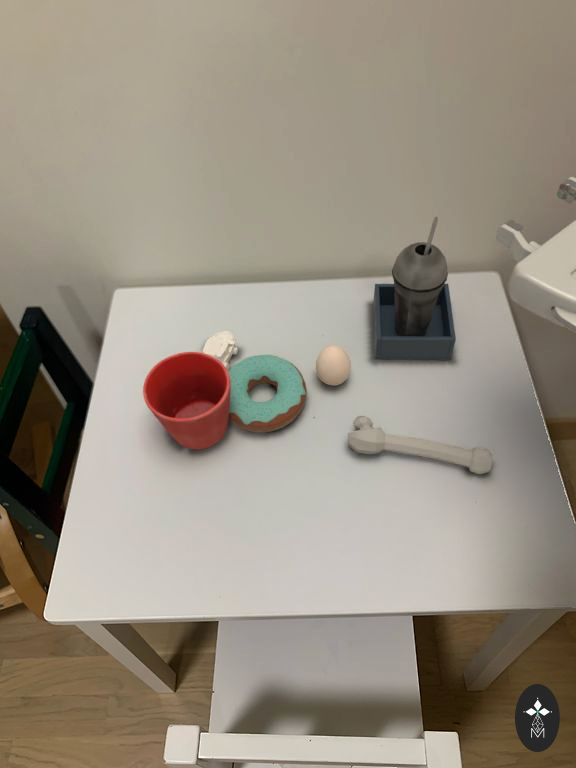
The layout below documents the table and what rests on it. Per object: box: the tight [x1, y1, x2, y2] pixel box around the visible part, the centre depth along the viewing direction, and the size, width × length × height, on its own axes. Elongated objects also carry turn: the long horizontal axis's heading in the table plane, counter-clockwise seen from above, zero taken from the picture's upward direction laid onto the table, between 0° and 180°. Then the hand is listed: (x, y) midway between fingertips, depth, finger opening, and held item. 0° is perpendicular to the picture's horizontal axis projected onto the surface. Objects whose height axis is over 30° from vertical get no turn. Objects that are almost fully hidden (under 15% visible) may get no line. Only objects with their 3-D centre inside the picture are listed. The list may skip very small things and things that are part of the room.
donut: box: [220, 354, 308, 433], centre depth 81 cm, size 12×12×4 cm
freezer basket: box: [372, 283, 457, 361], centre depth 86 cm, size 11×11×5 cm
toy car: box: [201, 330, 239, 371], centre depth 86 cm, size 5×8×4 cm, turn 162°
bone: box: [347, 415, 494, 475], centre depth 75 cm, size 18×5×4 cm, turn 71°
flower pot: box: [142, 351, 231, 450], centre depth 77 cm, size 11×11×10 cm
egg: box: [315, 344, 352, 386], centre depth 81 cm, size 5×5×7 cm
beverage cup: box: [391, 216, 449, 336], centre depth 80 cm, size 7×7×20 cm
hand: (533, 206), depth 59 cm, fingers open, 8 cm apart
